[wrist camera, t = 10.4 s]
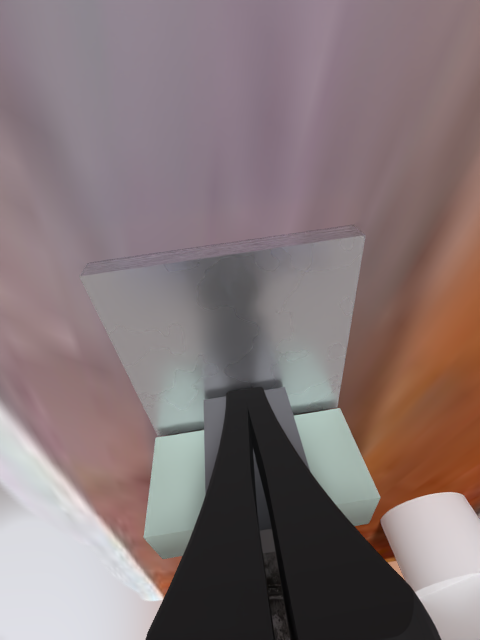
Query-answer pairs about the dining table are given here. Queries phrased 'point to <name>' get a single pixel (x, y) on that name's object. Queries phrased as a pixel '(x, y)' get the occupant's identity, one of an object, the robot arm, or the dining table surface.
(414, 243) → the dining table surface
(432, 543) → the cylinder with rectangular tab
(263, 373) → the plate
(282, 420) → the vise jaw
